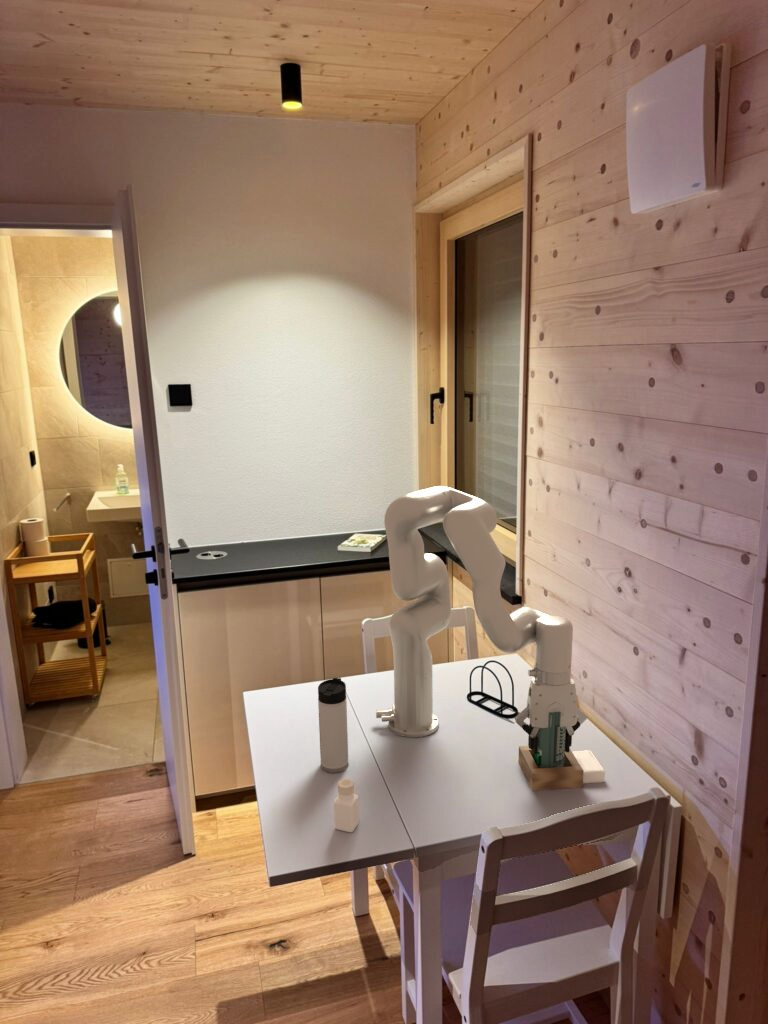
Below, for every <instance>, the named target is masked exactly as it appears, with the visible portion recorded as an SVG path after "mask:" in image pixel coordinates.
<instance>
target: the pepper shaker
mask: <svg viewBox="0 0 768 1024" xmlns="http://www.w3.org/2000/svg"><path fill="white" fill-rule="evenodd" d="M337 793H338V794H337V796H336V797H335V799H334V801H333V811H334V816H333V817H334V828H335V829H336V830H338V831H342V832H347V833H353V832H354V831H355V829H356V828H357V826H358V824H359V823H360V806H359V805H360V803H359V802H360V801H359V799H360V798H359V795H358V794H356V793H355V782H354V780H353V779H351V778H342V779H340V780H338V782H337Z"/></svg>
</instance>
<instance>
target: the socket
mask: <svg viewBox="0 0 768 1024" xmlns="http://www.w3.org/2000/svg"><path fill="white" fill-rule="evenodd" d="M534 758H535V754H533V752H532V750H531V749H529V746H528V745H522V746H521V745H520V746H519V745H518V764H519V766H520V768H521V770H522V773H523V774H524V776H525V779H526V781H527V783H528V784H529V785H528V786H529V787H530V789H531V791H532V792H533V791H549V790H562V789H575V788H576V789H577V788H583V787H584V783H583V771H584V770H583V769H582V767H581V766H580V764H579V762H578V761H577V759H576V758H575V756H574V754H573V753H572V750H571V748H570V749H569V752H565V760H564V767H555V768H539V769H538V767H537V765H536V763H535V761H534Z"/></svg>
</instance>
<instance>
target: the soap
mask: <svg viewBox="0 0 768 1024" xmlns="http://www.w3.org/2000/svg"><path fill="white" fill-rule="evenodd" d="M571 751H572V750H571ZM572 753H573V754H574V756H575V758H576V759H577V761H578V762H579V764H580V766H581V767H582V769H583V770H584V771H583V784H590V783H591V784H593V783H595V784H596V783H603V782H605V778H606V771H605V769H604V768H603V766H602V765H601V764H600V762H599V760H598V759H597V758H596V756H595V755H594V753H593V752H592V750H590V749H585V750H576V751H572Z"/></svg>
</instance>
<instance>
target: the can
mask: <svg viewBox="0 0 768 1024" xmlns="http://www.w3.org/2000/svg"><path fill="white" fill-rule="evenodd" d="M551 716H552V717H551ZM548 717H549V719H548V728H539V730H538V732H537V734H536V736H537V738H538V751H537V754H535V758H534V761H535V763H536V765H537V767H538V769H539V768H555V767H564V760H565V738H566V727H563V726H562V727H560V718H561V712H554V713H551V712H549V716H548ZM551 718H552V719H551ZM550 724H551V728H550Z"/></svg>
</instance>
